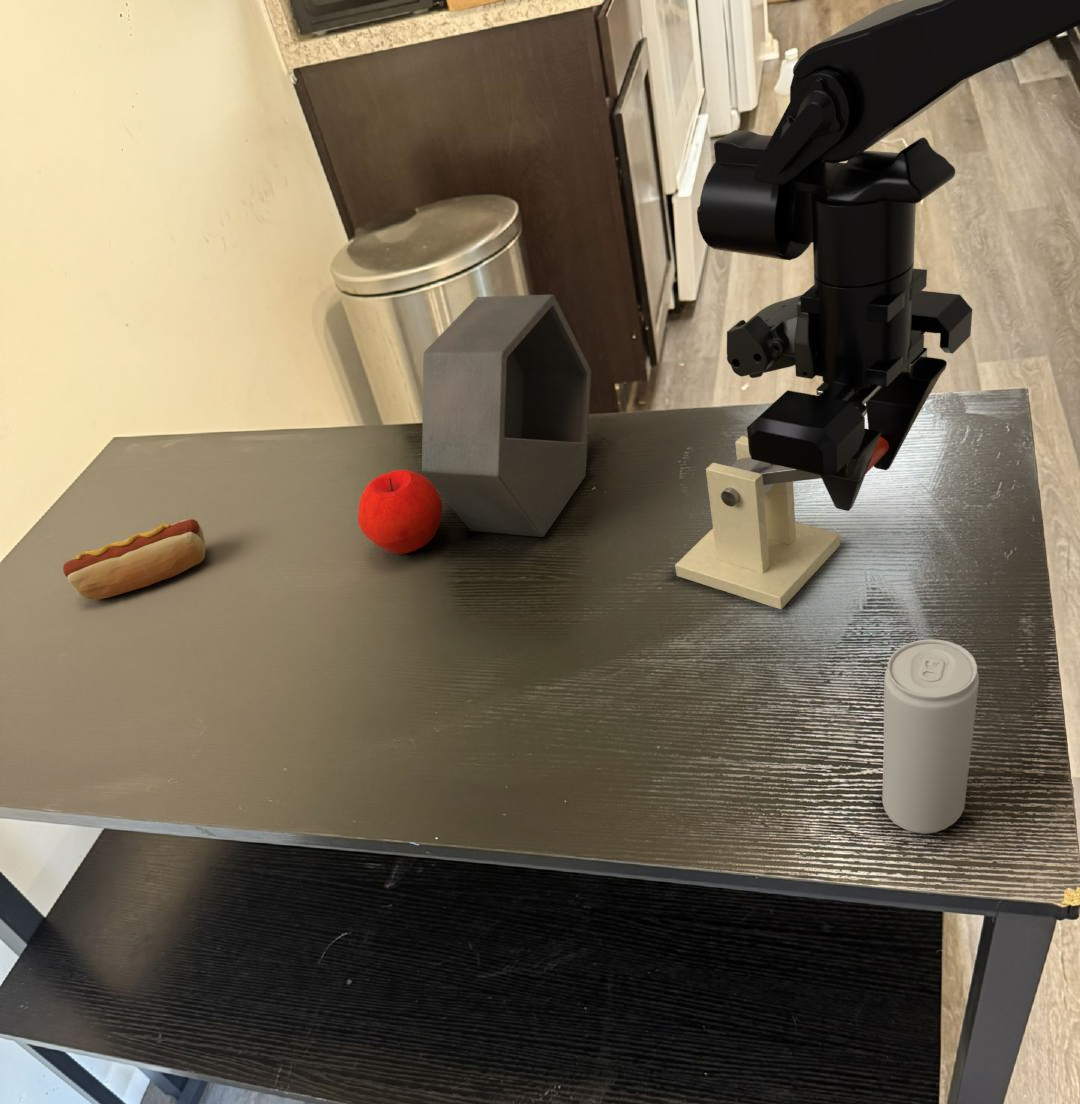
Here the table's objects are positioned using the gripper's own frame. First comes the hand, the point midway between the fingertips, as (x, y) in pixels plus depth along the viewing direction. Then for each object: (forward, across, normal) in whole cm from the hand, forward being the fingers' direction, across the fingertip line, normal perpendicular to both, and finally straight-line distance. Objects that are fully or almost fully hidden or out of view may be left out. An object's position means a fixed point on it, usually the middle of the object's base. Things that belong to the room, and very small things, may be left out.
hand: (863, 487), depth 71 cm
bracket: (+9, 0, -9) cm, 13 cm away
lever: (+1, 0, -5) cm, 5 cm away
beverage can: (+10, +17, +13) cm, 24 cm away
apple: (+10, +11, -40) cm, 43 cm away
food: (+10, +28, -64) cm, 70 cm away
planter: (+10, +1, -34) cm, 36 cm away
